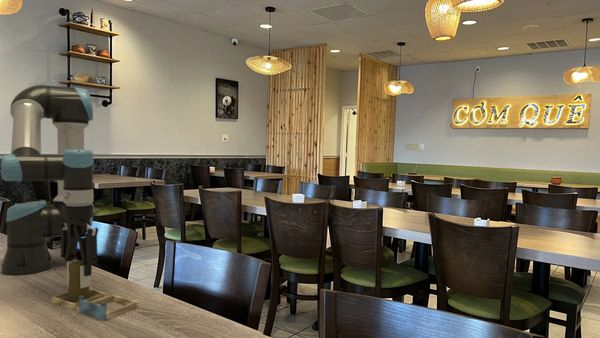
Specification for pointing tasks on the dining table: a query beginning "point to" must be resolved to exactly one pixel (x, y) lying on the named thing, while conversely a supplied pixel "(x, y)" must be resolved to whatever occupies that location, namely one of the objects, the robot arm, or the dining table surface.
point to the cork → (76, 284)
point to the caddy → (95, 304)
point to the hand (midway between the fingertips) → (78, 284)
